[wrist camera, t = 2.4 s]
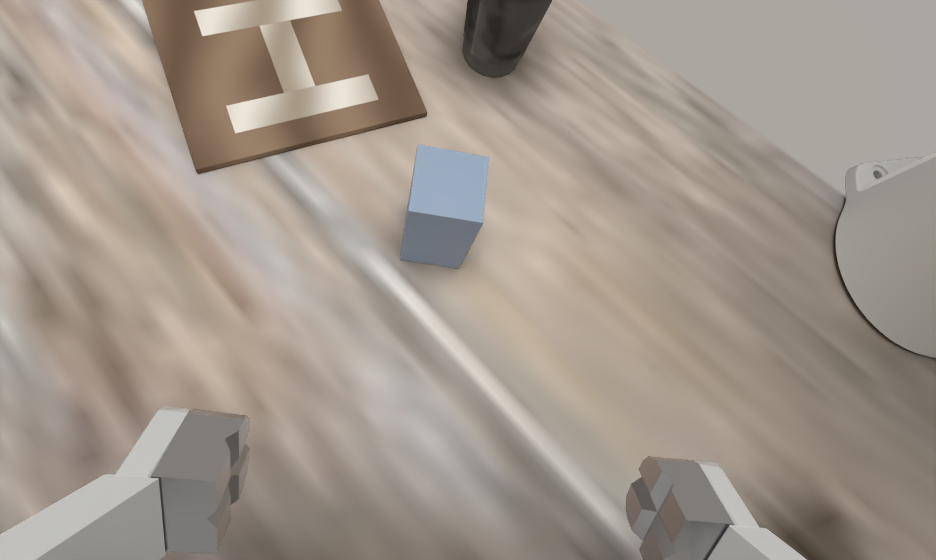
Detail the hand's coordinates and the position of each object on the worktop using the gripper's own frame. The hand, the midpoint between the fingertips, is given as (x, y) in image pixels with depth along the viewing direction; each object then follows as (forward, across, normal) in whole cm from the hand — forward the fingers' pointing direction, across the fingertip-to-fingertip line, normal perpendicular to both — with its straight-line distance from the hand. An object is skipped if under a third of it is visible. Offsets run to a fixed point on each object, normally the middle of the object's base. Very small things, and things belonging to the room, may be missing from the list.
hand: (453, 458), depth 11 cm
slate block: (+25, -1, +6) cm, 26 cm away
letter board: (+34, +11, -3) cm, 35 cm away
